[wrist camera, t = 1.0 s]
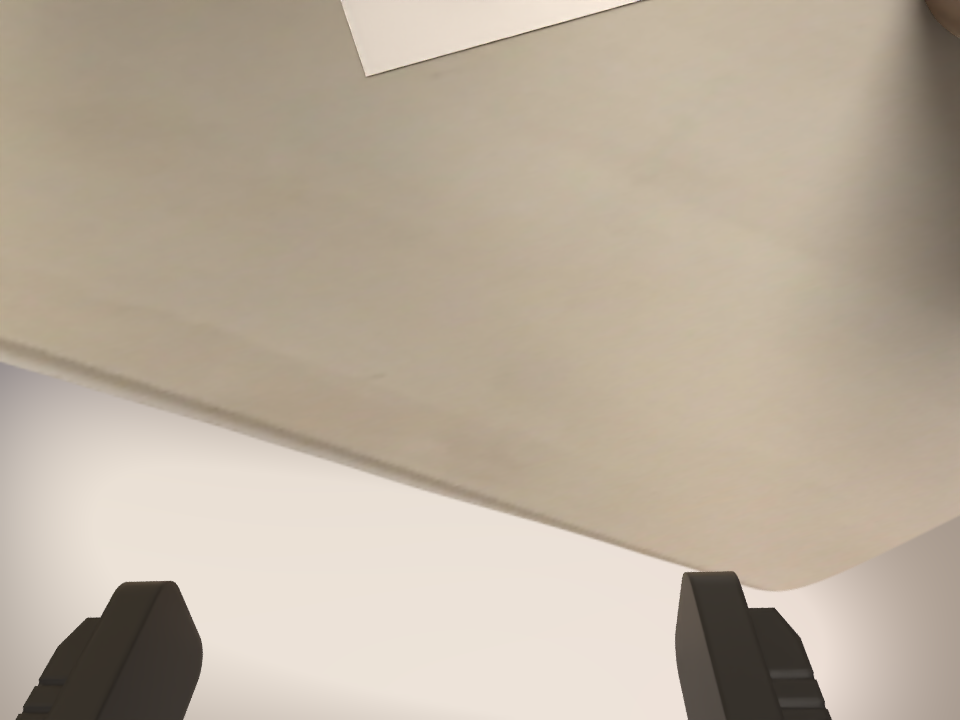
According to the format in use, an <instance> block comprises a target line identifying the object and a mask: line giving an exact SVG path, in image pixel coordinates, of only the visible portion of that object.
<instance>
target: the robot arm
mask: <svg viewBox="0 0 960 720" xmlns="http://www.w3.org/2000/svg"><path fill="white" fill-rule="evenodd" d="M675 649H676V661H677V668H678V674H679V679H680V684H681V688H682V693H683V697H684V703H685V707H686V712H687V716H688V720H832V719H831V717H830V714H829V712H828V709H826V708H825V701H824V698H823V696H822V693H821V691H820V688H819V685H818V683H817V680H815V679H814V675H813V673H814V672H813V670H812V667H811V665H810V662H809V659H808V657H807V654H806V652H805V649H804V646H803V644H802V641H801V638H800V637H799V636H798V634H796V632H795V631H794V630H793V629H792V628H791V627H790V625H789V624H788V623H787V622H786V621H785V619H784V618H783V617H782V616H781V615H780V614H779V613H778V611H777V610H776V609H775V608H748V606H747V603H746V599H745V596H744V593H743V590H742V587H741V584H740V581H739V579H738V577H737V575H736V574H735V573H734V572H733V571H725V572H685V573H684V574H683V577H682V584H681V592H680V600H679V609H678V616H677V624H676V634H675ZM202 650H203V649H202V643H201V638H200V636H199V633H198V631H197V629H196V627H195V624H194V622H193V620H192V617H191V615H190V613H189V610H188V608H187V606H186V603H185V601H184V599H183V596H182V595H181V592H180V589H179V587H178V586H177V584H176V583H175V582H173V581H149V582H148V581H146V582H125V583H123V584H121V585H120V586H119V587H118V588H117V589H116V590H115V592H114V594H113V595H112V597H111V599H110V602H109V603H108V605H107V606H106V608H105V610H104V612H103V614H102V616H101V617H100V618H86V619H85V621H83V622H82V623H81V624H80V625H79V626H78V627H77V628H76V629H75V630H74V631H73V632H72V633H71V634H70V635H69V636H68V637H67V638H66V639H65V640H64V641H63V642H62V643H61V644H60V645H59V646H58V648H57V649H56V651H55V653H54V654H53V656H52V658H51V659H50V661H49V663H48V665H47V666H46V668H45V670H44V671H43V673H42V675H41V677H40V678H39V685H38V686H35V687H34V689H33V691H32V692H31V694H30V696H29V698H28V699H27V701H26V703H25V704H24V706H23V712H22V714H19V715H18V716H17V718H16V720H183V718H184V716H185V713H186V711H187V708H188V705H189V703H190V700H191V698H192V695H193V692H194V690H195V687H196V684H197V682H198V679H199V676H200V672H201V667H202V657H203V654H202V653H203V651H202Z"/></svg>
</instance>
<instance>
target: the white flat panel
mask: <svg viewBox="0 0 960 720" xmlns="http://www.w3.org/2000/svg"><path fill="white" fill-rule="evenodd" d="M636 1H640V0H341V3H342V6H343V9H344V12H345V15H346V18H347V21H348V24H349V27H350V30H351V33H352V36H353V39H354V42H355V45H356V48H357V51H358V54H359V57H360V60H361V63H362V66H363V69H364V72H365V75H366V77H367V76H370V75H374V74H377V73H381V72H385V71H388V70H392V69H395V68H399V67H403V66H406V65H410V64H413V63H417V62H421V61H424V60H428V59H431V58H435V57H439V56H442V55H446V54H449V53H453V52H456V51H460V50H464V49H467V48H471V47H474V46H478V45H482V44H485V43H489V42H492V41H496V40H500V39H503V38H507V37H510V36H514V35H518V34H521V33H525V32H528V31H532V30H535V29H539V28H543V27H546V26H550V25H553V24H557V23H561V22H564V21H568V20H571V19H575V18H579V17H582V16H586V15H589V14H593V13H597V12H600V11H604V10H607V9H611V8H614V7H618V6H622V5H625V4H629V3H632V2H636Z"/></svg>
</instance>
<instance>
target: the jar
mask: <svg viewBox="0 0 960 720" xmlns="http://www.w3.org/2000/svg"><path fill="white" fill-rule="evenodd" d="M925 2H926V4H927V6H928V8H929V10H930V11H931V13H932V14H933V16H934V17H935V19H936V20H937V21H938V22H939V23H940V24H941V25H942V26H943V27H944V28H945V29H946V30H948V31H949V32H950V33H952V34H953V35H954V36H956V37H959V38H960V0H925Z"/></svg>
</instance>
